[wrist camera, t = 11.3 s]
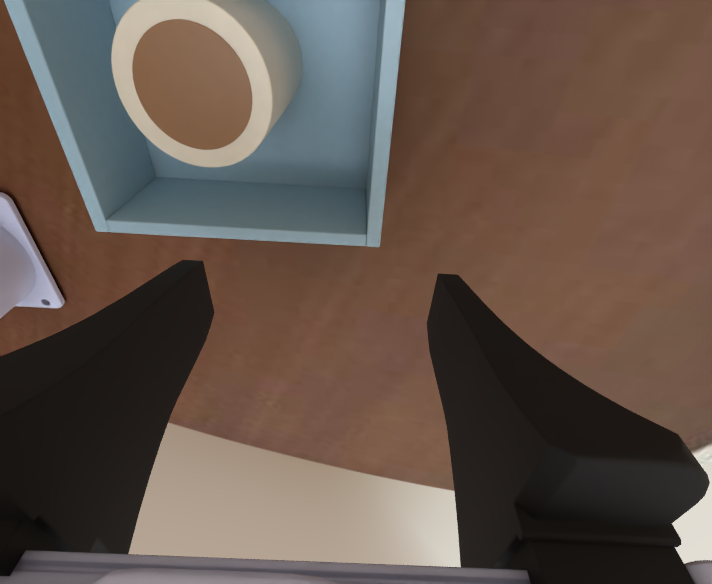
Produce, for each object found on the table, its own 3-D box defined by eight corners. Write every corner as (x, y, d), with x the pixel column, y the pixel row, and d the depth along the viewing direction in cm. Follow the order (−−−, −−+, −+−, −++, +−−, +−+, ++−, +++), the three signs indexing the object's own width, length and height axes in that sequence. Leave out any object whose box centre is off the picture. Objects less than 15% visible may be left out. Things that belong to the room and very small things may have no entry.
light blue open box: (151, 183, 21) (95, 231, 16) (58, -154, 13) (-89, -228, 9) (376, 196, 21) (379, 247, 17) (405, -128, 14) (425, -189, 9)
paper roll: (206, 113, 18) (136, 164, 13) (186, -10, 15) (84, -16, 10) (304, 119, 18) (277, 172, 13) (301, -2, 15) (265, -4, 10)
